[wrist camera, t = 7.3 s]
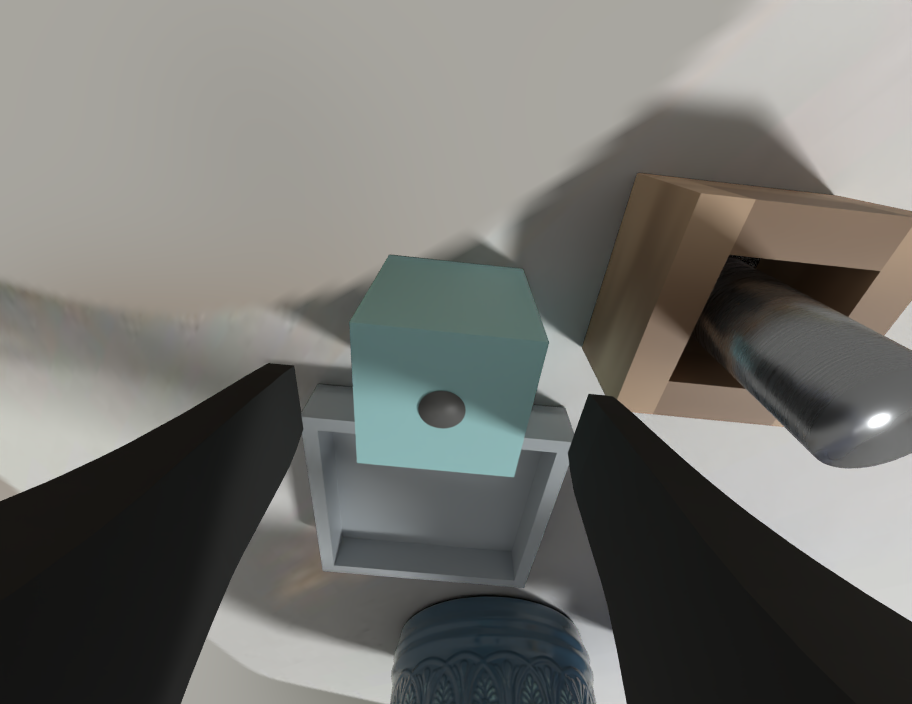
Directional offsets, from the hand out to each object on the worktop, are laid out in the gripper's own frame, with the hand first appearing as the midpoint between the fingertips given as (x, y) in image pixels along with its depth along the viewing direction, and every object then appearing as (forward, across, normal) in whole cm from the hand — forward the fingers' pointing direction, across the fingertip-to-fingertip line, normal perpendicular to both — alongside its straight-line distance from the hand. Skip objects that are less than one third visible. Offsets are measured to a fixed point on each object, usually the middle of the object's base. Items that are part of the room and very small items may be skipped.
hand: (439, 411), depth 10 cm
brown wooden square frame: (+5, -8, -2) cm, 10 cm away
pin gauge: (+5, -8, -2) cm, 10 cm away
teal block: (+5, 0, 0) cm, 5 cm away
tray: (+5, 0, +9) cm, 10 cm away
